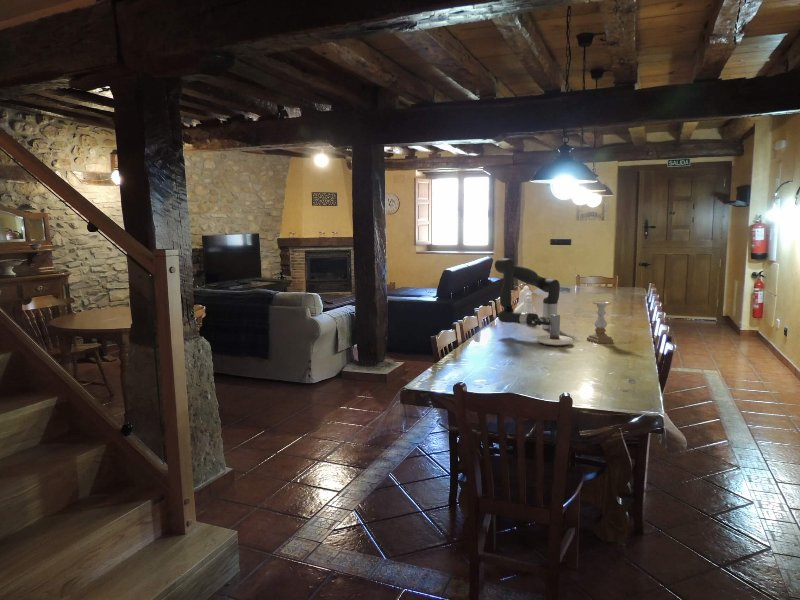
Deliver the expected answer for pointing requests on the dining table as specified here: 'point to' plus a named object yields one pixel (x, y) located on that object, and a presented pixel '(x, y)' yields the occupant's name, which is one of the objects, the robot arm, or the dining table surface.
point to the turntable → (561, 341)
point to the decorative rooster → (525, 302)
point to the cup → (554, 326)
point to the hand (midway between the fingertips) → (553, 322)
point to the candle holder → (600, 325)
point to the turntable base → (554, 345)
